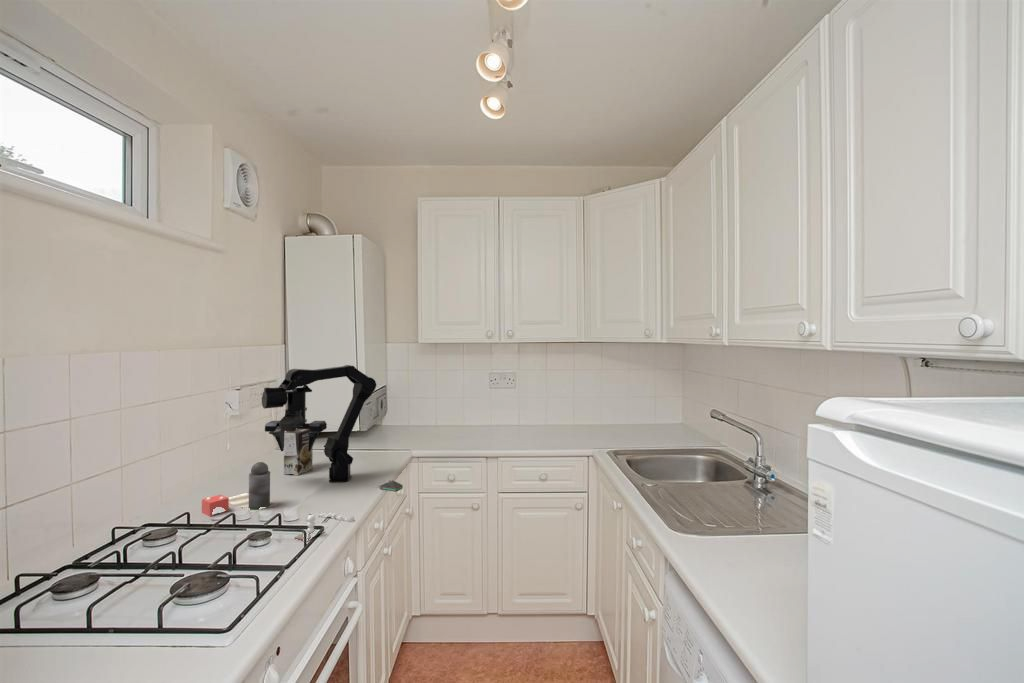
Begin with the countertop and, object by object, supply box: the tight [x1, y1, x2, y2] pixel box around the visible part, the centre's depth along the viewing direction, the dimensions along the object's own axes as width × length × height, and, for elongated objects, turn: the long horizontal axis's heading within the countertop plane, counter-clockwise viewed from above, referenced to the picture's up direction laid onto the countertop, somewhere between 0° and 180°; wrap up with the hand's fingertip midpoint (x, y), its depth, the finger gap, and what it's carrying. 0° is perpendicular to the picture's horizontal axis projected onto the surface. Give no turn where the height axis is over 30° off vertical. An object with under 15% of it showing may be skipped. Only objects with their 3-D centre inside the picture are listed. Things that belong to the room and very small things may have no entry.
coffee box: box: [283, 429, 314, 476], centre depth 178 cm, size 9×6×16 cm
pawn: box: [248, 461, 271, 511], centre depth 139 cm, size 6×6×13 cm
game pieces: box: [294, 479, 404, 542], centre depth 141 cm, size 45×13×6 cm, turn 160°
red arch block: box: [201, 494, 230, 517], centre depth 134 cm, size 5×5×6 cm
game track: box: [228, 492, 277, 513], centre depth 142 cm, size 20×11×1 cm, turn 56°
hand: (296, 451), depth 158 cm, fingers open, 9 cm apart
